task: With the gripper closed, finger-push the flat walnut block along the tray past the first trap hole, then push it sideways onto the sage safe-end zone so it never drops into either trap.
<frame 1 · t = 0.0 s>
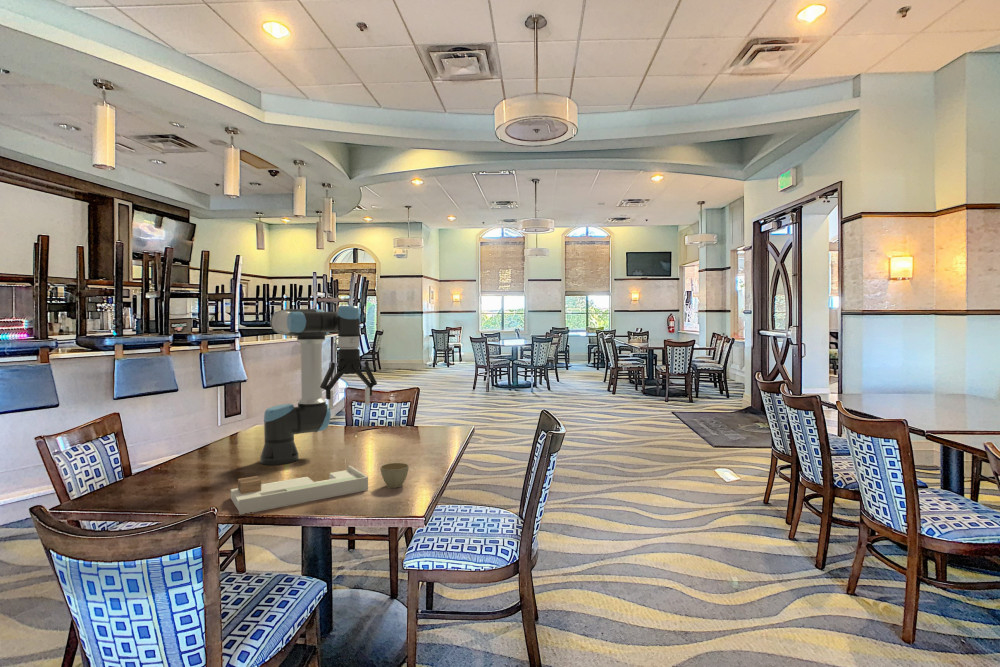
hand: (349, 406, 193), 28 cm above the table, fingers open, 13 cm apart
flower pot: (394, 486, 190), on the table
block: (249, 490, 176), point 3 cm above the table, touching tray
tray: (299, 493, 181), on the table
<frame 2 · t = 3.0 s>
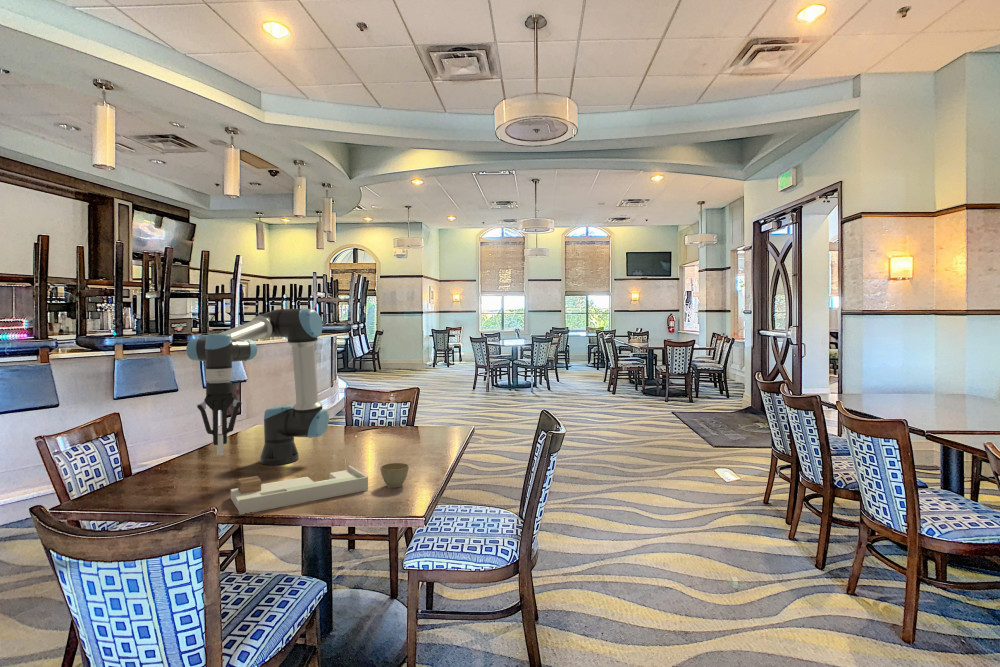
hand: (220, 454, 171), 16 cm above the table, fingers closed
nothing on the table moved.
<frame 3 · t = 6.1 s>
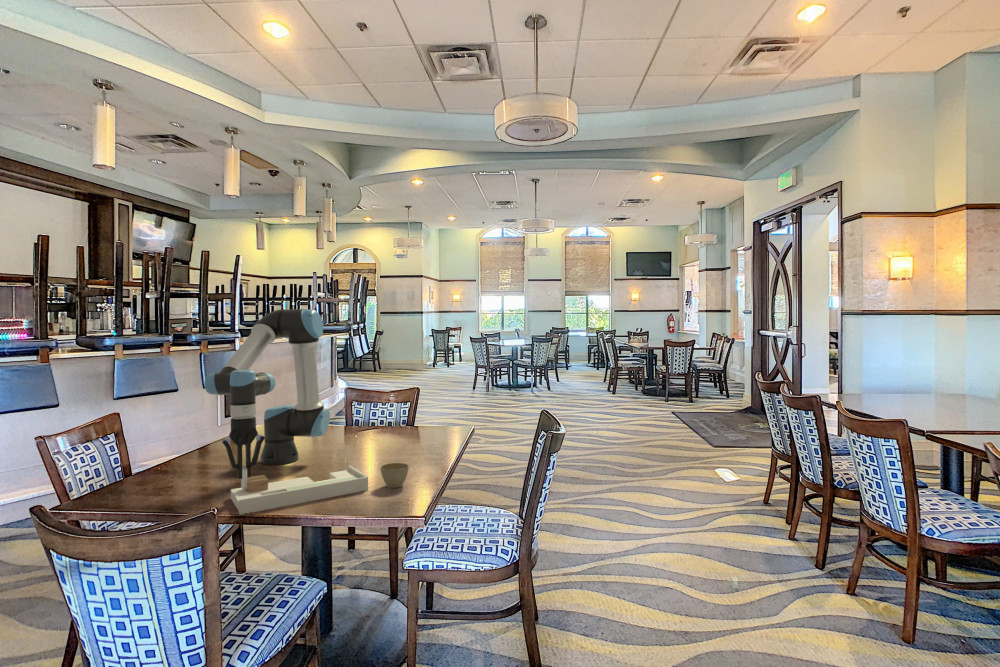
hand: (244, 487, 176), 4 cm above the table, fingers closed
block: (256, 488, 178), point 3 cm above the table, touching tray
everything else where it was.
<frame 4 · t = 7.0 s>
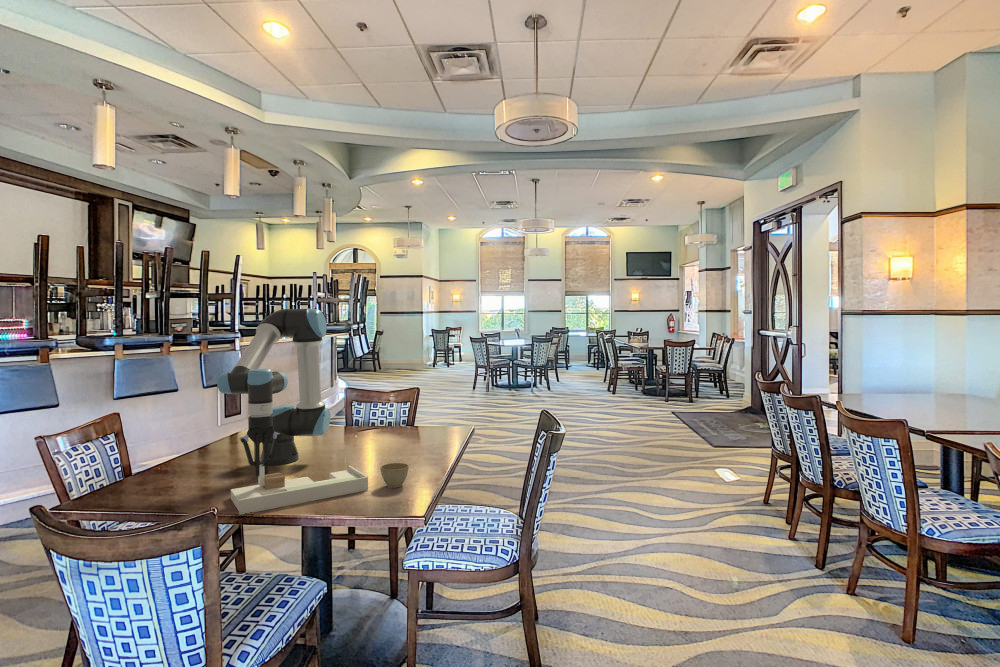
hand: (261, 484, 179), 4 cm above the table, fingers closed
block: (273, 486, 181), point 3 cm above the table, touching tray, gripper
everything else where it was.
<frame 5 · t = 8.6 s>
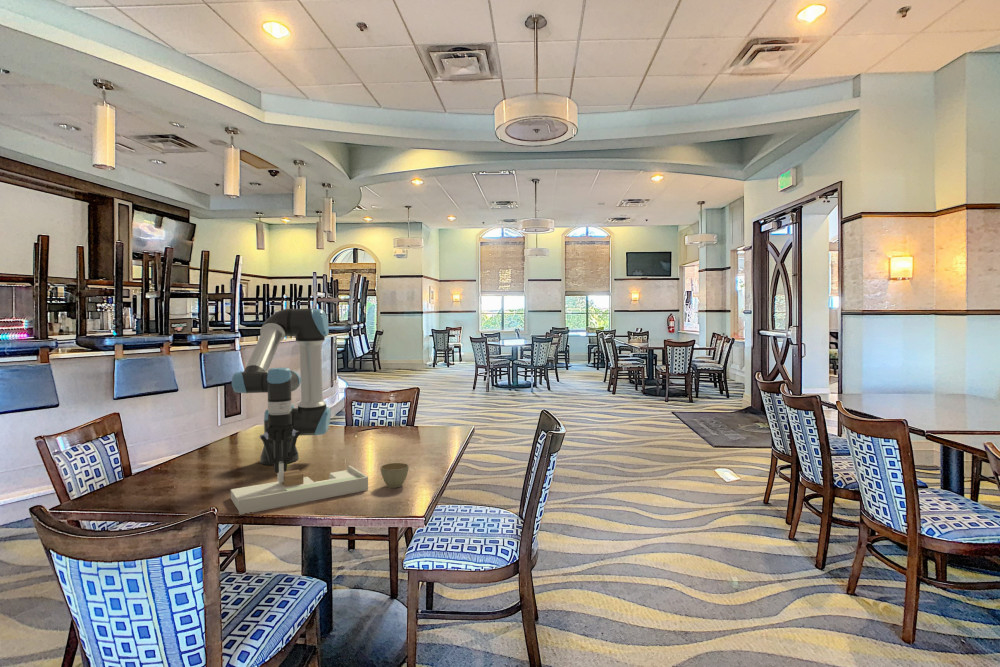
hand: (280, 481, 182), 4 cm above the table, fingers closed
block: (292, 483, 184), point 3 cm above the table, touching tray, gripper
everything else where it was.
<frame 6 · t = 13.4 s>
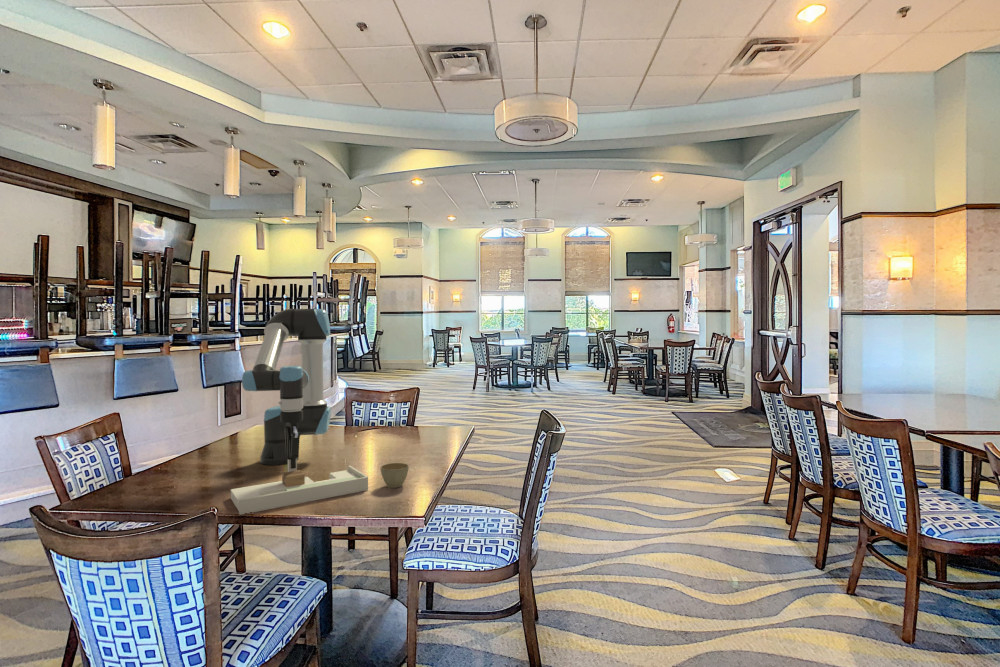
hand: (292, 476, 187), 4 cm above the table, fingers closed
block: (293, 483, 183), point 3 cm above the table, touching gripper
everything else where it was.
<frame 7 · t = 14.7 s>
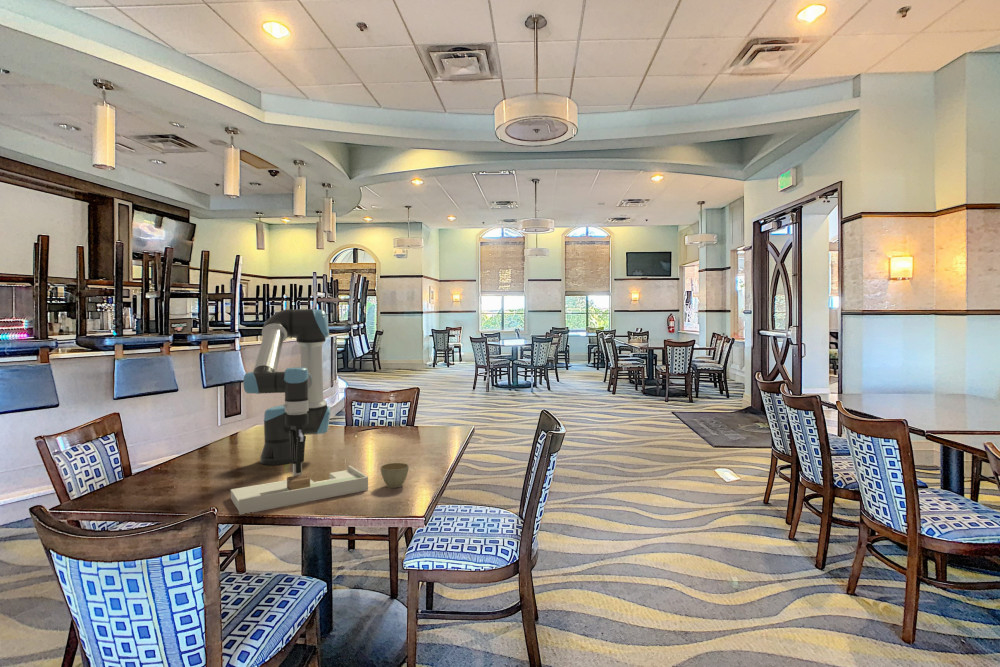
hand: (297, 481, 182), 4 cm above the table, fingers closed
block: (298, 488, 178), point 3 cm above the table, touching tray, gripper
everything else where it was.
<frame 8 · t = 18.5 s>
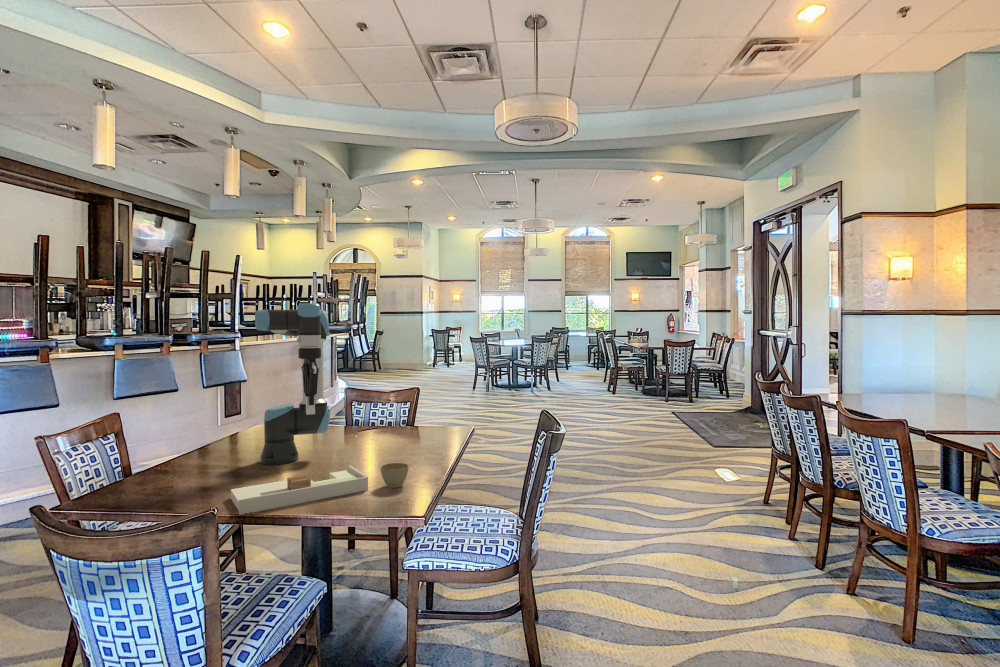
hand: (310, 413, 187), 26 cm above the table, fingers closed
block: (299, 488, 178), point 3 cm above the table, touching tray
everything else where it was.
at the end: block inside the target area on the tray (8.8 cm from its centre), point 3.0 cm above the tray's base; block tilted 1° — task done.
